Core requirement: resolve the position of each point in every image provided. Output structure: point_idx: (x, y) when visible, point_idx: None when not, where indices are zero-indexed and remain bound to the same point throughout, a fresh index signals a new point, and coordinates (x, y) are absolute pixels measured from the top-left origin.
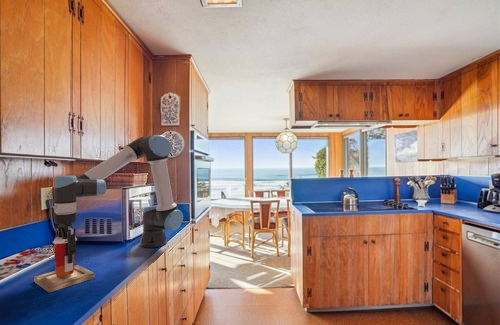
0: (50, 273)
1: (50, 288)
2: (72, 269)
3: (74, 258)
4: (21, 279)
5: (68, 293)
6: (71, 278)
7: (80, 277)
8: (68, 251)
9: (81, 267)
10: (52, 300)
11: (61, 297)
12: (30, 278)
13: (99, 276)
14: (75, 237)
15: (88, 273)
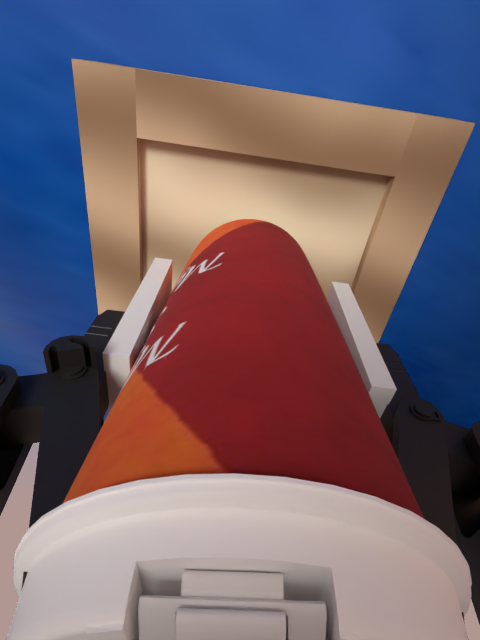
0: (126, 305)
1: None
2: (348, 291)
3: (318, 293)
4: (13, 360)
5: (463, 344)
6: (370, 289)
7: (419, 246)
8: (461, 512)
9: (197, 91)
10: (445, 404)
11: (464, 378)
12: (32, 335)
13: (472, 62)
14: (443, 626)
15: (422, 162)
